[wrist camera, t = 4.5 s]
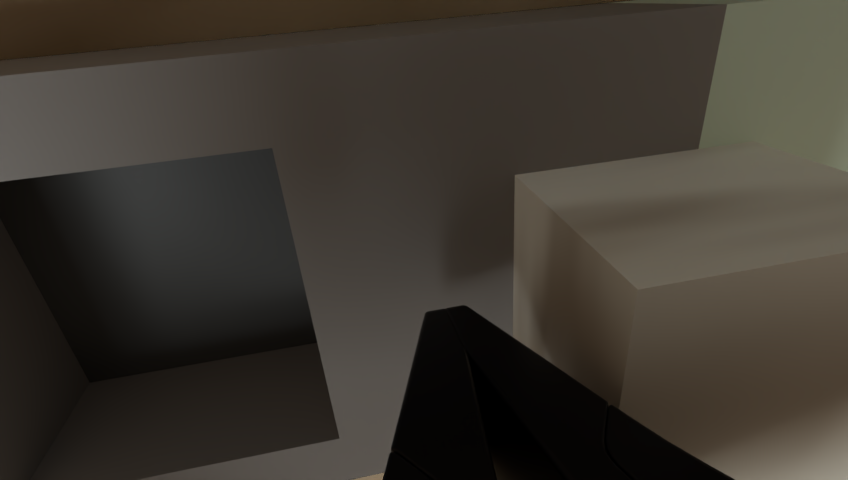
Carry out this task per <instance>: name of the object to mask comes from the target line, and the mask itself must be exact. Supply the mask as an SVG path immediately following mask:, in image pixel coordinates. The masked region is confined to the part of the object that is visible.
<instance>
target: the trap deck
mask: <svg viewBox="0 0 848 480" xmlns="http://www.w3.org/2000/svg"><path fill="white" fill-rule="evenodd" d="M751 141H754V142H757V143H760V144H764V145H767V146H770V147H773V148H776V149H779V150H782V151H785V152H788V153H791V154H794V155H797V156H800V157H803V158H806V159H809V160H812V161H815V162H818V163H821V164H824V165H827V166H830V167H833V168H836V169H839V170H842V171H845V172H848V0H632V1H621V2H611V3H600V4H590V5H579V6H569V7H558V8H548V9H537V10H526V11H516V12H505V13H495V14H484V15H474V16H463V17H453V18H442V19H432V20H421V21H411V22H400V23H389V24H379V25H368V26H358V27H347V28H337V29H326V30H316V31H305V32H295V33H284V34H273V35H263V36H252V37H242V38H231V39H221V40H210V41H200V42H189V43H179V44H168V45H158V46H147V47H136V48H126V49H115V50H105V51H94V52H84V53H73V54H63V55H52V56H42V57H31V58H21V59H10V60H0V480H351V479H356V478H361V477H365V476H370V475H375V474H379V473H384V472H385V469H386V465H387V461H388V457H389V454H390V452H391V446H392V442H393V438H394V434H395V430H396V426H397V422H398V418H399V414H400V410H401V406H402V402H403V398H404V394H405V390H406V386H407V382H408V378H409V374H410V370H411V366H412V362H413V358H414V354H415V350H416V346H417V342H418V338H419V334H420V330H421V326H422V322H423V318H424V315H425V313H426V312H428V311H432V310H438V309H446V308H449V307H455V306H460V305H466V306H468V307H470V308H471V309H472V310H474V311H475V312H477V313H478V314H480V315H481V316H483V317H484V318H486V319H487V320H489V321H490V322H492V323H493V324H495V325H496V326H497V327H499V328H500V329H502V330H503V331H505V332H506V333H508V334H509V335H511V336H512V337H513V281H514V194H515V175H518V174H525V173H532V172H539V171H546V170H553V169H560V168H567V167H575V166H582V165H589V164H596V163H603V162H610V161H617V160H624V159H631V158H638V157H645V156H652V155H659V154H666V153H673V152H681V151H688V150H695V149H702V148H709V147H716V146H723V145H730V144H737V143H744V142H751Z"/></svg>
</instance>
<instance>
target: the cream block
mask: <svg viewBox="0 0 848 480" xmlns="http://www.w3.org/2000/svg"><path fill="white" fill-rule="evenodd" d="M513 337H514V338H515V339H517V340H518V341H520V342H521V343H522V344H524V345H525V346H527V347H528V348H530V349H531V350H533V351H534V352H536V353H537V354H539V355H540V356H542V357H543V358H545V359H546V360H547V361H549V362H550V363H552V364H553V365H555V366H556V367H558V368H559V369H561V370H562V371H564V372H565V373H567V374H568V375H569V376H571V377H572V378H574V379H575V380H577V381H578V382H580V383H581V384H583V385H584V386H586V387H587V388H589V389H590V390H592V391H593V392H594V393H596V394H597V395H599V396H600V397H602V398H603V399H605V400H606V401H608V403H609V405H614V406H615V407H617V408H618V409H620V410H621V411H623V412H624V413H626V414H627V415H629V416H630V417H632V418H633V419H635V420H636V421H638V422H639V423H641V424H642V425H644V426H645V427H647V428H649V429H650V430H652V431H653V432H655V433H656V434H658V435H659V436H661V437H662V438H664V439H666V440H667V441H669V442H671V443H672V444H674V445H676V446H678V447H679V448H681V449H683V450H684V451H686V452H688V453H689V454H691V455H693V456H695V457H696V458H698V459H700V460H701V461H703V462H705V463H707V464H708V465H710V466H712V467H714V468H715V469H717V470H719V471H721V472H723V473H724V474H726V475H728V476H730V477H731V478H733V479H735V480H848V172H845V171H842V170H839V169H836V168H833V167H830V166H827V165H824V164H821V163H818V162H815V161H812V160H809V159H806V158H803V157H800V156H797V155H794V154H791V153H788V152H785V151H782V150H779V149H776V148H773V147H770V146H767V145H764V144H760V143H757V142H754V141H751V142H744V143H737V144H730V145H723V146H716V147H709V148H702V149H695V150H688V151H681V152H673V153H666V154H659V155H652V156H645V157H638V158H631V159H624V160H617V161H610V162H603V163H596V164H589V165H582V166H575V167H567V168H560V169H553V170H546V171H539V172H532V173H525V174H518V175H515V194H514V281H513ZM609 405H608V407H609Z"/></svg>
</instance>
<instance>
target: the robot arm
mask: <svg viewBox="0 0 848 480" xmlns="http://www.w3.org/2000/svg"><path fill="white" fill-rule="evenodd" d="M608 405H609V403H608V401H606V400H605V399H603V398H602V397H600V396H599V395H597V394H596V393H594V392H593V391H592V390H590V389H589V388H587V387H586V386H584V385H583V384H581V383H580V382H578V381H577V380H575V379H574V378H572V377H571V376H569V375H568V374H567V373H565V372H564V371H562V370H561V369H559V368H558V367H556V366H555V365H553V364H552V363H550V362H549V361H547V360H546V359H545V358H543V357H542V356H540V355H539V354H537V353H536V352H534V351H533V350H531V349H530V348H528V347H527V346H525V345H524V344H522V343H521V342H520V341H518V340H517V339H515V338H514V337H512V336H511V335H509V334H508V333H506V332H505V331H503V330H502V329H500V328H499V327H497V326H496V325H495V324H493V323H492V322H490V321H489V320H487V319H486V318H484V317H483V316H481V315H480V314H478V313H477V312H475V311H474V310H472V309H471V308H470V307H468V306H466V305H460V306H455V307H449V308H446V309H438V310H432V311H428V312H426V313H425V315H424V318H423V322H422V326H421V330H420V334H419V338H418V342H417V346H416V350H415V354H414V358H413V362H412V366H411V370H410V374H409V378H408V382H407V386H406V390H405V394H404V398H403V402H402V406H401V410H400V414H399V418H398V422H397V426H396V430H395V434H394V438H393V442H392V446H391V452H390V454H389V457H388V461H387V465H386V469H385V473H384V477H383V480H735V479H733V478H731V477H730V476H728V475H726V474H724V473H723V472H721V471H719V470H717V469H715V468H714V467H712V466H710V465H708V464H707V463H705V462H703V461H701V460H700V459H698V458H696V457H695V456H693V455H691V454H689V453H688V452H686V451H684V450H683V449H681V448H679V447H678V446H676V445H674V444H672V443H671V442H669V441H667V440H666V439H664V438H662V437H661V436H659V435H658V434H656V433H655V432H653V431H652V430H650V429H649V428H647V427H645V426H644V425H642V424H641V423H639V422H638V421H636V420H635V419H633V418H632V417H630V416H629V415H627V414H626V413H624V412H623V411H621V410H620V409H618V408H617V407H615V406H614V405H609V407H608Z"/></svg>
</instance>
